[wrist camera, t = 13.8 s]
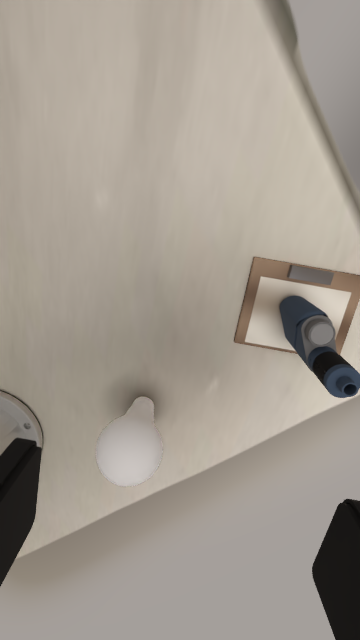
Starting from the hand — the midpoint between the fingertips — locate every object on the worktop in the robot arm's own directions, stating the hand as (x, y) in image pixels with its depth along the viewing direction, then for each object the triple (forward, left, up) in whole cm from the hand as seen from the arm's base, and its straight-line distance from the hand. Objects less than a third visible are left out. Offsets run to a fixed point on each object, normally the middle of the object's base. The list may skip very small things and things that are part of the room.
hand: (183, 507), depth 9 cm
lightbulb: (-12, +4, -24) cm, 27 cm away
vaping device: (+1, -10, -24) cm, 26 cm away
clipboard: (+2, -10, -24) cm, 26 cm away
